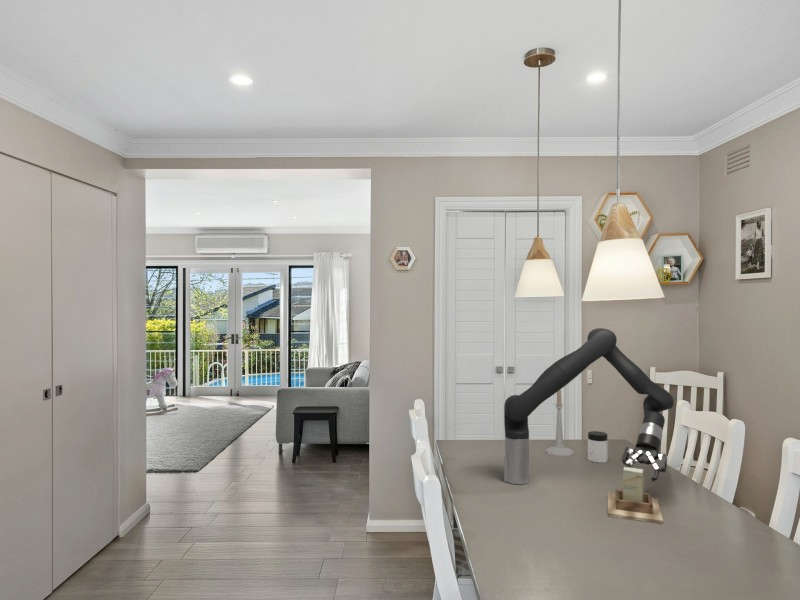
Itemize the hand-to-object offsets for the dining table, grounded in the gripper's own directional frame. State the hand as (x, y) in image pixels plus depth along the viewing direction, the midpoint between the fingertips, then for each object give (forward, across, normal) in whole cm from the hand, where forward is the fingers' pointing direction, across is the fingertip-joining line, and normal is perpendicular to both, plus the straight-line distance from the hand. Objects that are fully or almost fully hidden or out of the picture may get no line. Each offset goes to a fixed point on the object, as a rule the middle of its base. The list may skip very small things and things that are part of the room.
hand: (640, 477), depth 176 cm
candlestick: (-23, -49, +36) cm, 65 cm away
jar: (-23, -31, +36) cm, 53 cm away
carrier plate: (+11, 0, +1) cm, 11 cm away
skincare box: (+10, 0, +1) cm, 10 cm away
